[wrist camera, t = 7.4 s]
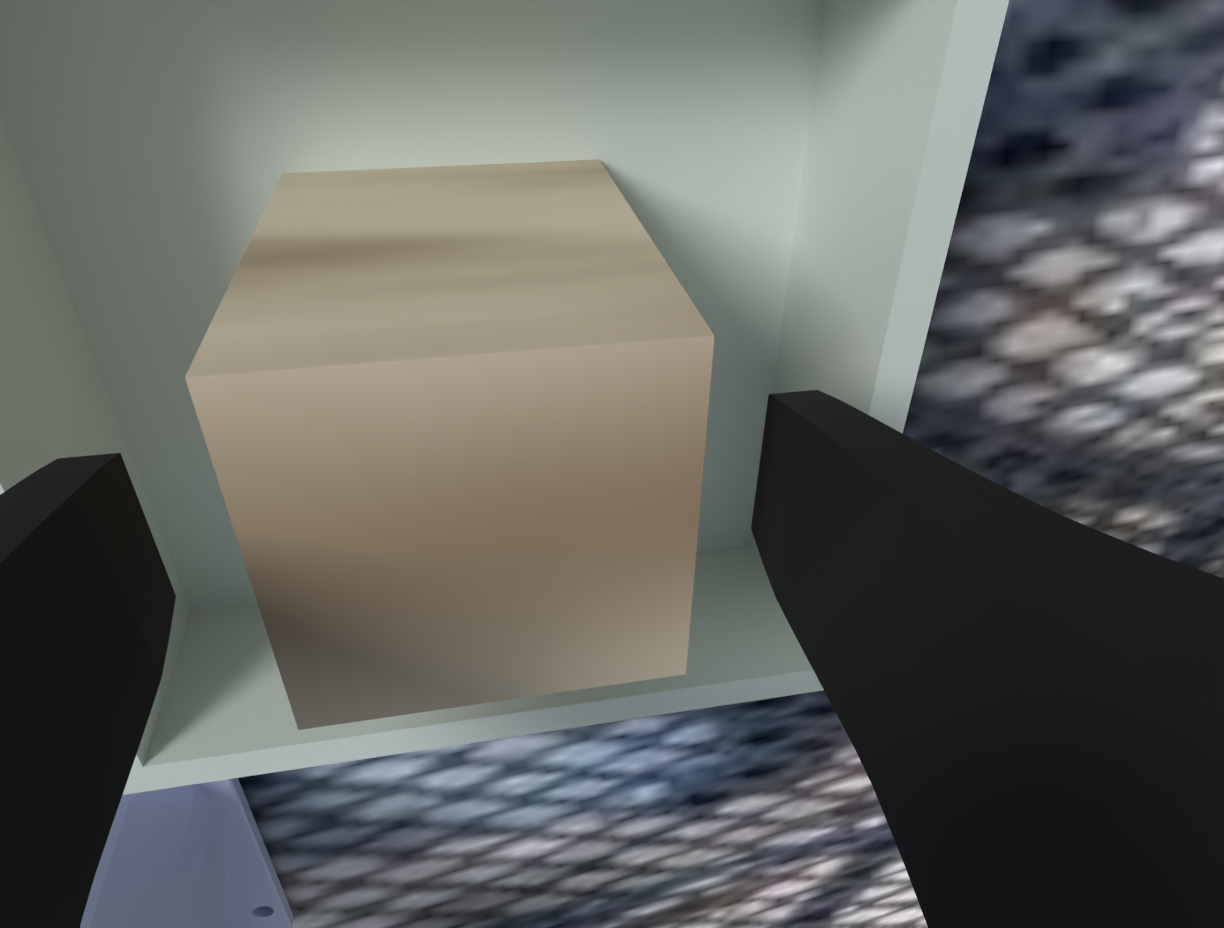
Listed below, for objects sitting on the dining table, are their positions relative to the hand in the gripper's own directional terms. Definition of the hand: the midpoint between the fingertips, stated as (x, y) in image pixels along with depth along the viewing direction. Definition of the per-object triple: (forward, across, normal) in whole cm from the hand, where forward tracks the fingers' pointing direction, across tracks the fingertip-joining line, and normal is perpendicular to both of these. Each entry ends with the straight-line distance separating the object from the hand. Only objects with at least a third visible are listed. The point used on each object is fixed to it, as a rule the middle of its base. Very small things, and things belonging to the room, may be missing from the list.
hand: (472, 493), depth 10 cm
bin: (+5, 0, 0) cm, 5 cm away
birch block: (+5, 0, 0) cm, 5 cm away
